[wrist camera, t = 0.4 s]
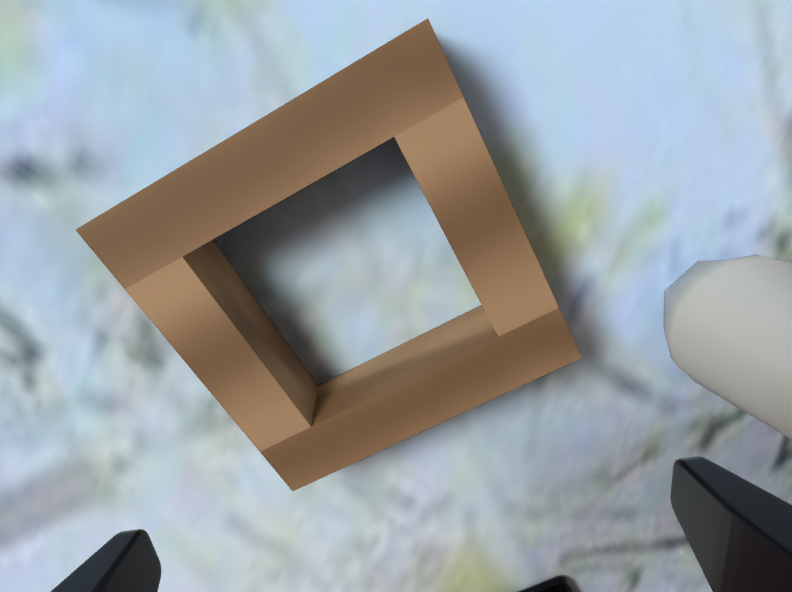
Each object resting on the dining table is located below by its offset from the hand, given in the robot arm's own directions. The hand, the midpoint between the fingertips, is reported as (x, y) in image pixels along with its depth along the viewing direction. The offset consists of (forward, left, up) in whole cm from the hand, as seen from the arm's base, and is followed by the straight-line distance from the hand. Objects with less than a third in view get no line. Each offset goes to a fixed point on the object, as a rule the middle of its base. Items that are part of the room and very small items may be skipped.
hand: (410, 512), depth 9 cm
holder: (0, +2, -14) cm, 14 cm away
